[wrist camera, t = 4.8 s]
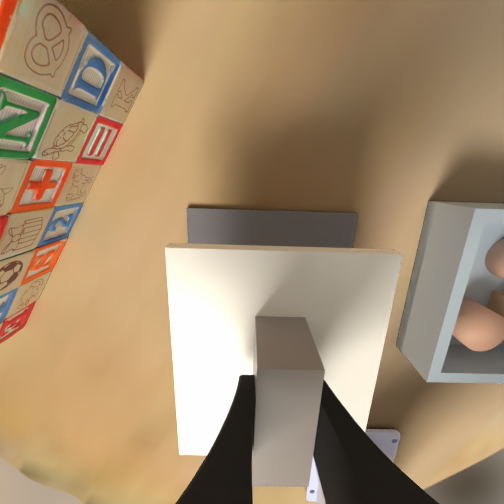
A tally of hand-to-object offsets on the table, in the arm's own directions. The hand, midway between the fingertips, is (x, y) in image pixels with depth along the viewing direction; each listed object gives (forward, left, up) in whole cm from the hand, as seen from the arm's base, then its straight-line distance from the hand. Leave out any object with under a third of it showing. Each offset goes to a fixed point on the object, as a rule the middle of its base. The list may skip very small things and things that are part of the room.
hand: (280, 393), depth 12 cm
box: (+2, -16, -9) cm, 19 cm away
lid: (0, 0, -2) cm, 3 cm away
